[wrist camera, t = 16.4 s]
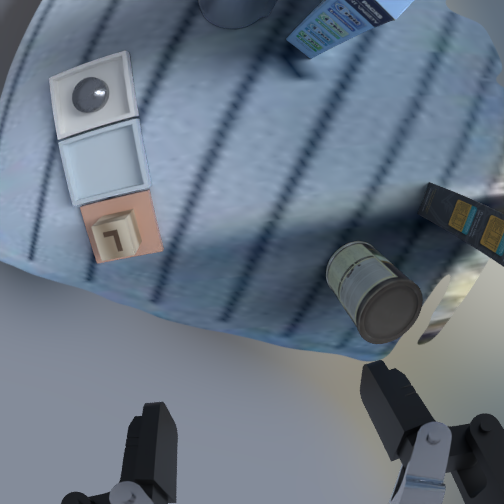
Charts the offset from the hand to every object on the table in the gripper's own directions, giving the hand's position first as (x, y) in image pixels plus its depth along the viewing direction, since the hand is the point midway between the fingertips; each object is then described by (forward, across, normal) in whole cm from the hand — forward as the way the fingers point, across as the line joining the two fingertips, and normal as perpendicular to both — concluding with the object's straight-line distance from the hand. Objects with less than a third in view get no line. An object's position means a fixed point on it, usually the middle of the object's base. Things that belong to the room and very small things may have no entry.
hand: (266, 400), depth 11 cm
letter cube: (+35, +16, +2) cm, 39 cm away
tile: (+36, +16, +2) cm, 40 cm away
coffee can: (+36, -19, +16) cm, 44 cm away
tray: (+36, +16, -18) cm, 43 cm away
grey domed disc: (+36, +16, -18) cm, 43 cm away
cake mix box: (+36, -43, +10) cm, 57 cm away
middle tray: (+36, +16, -8) cm, 40 cm away
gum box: (+36, -20, -26) cm, 49 cm away
